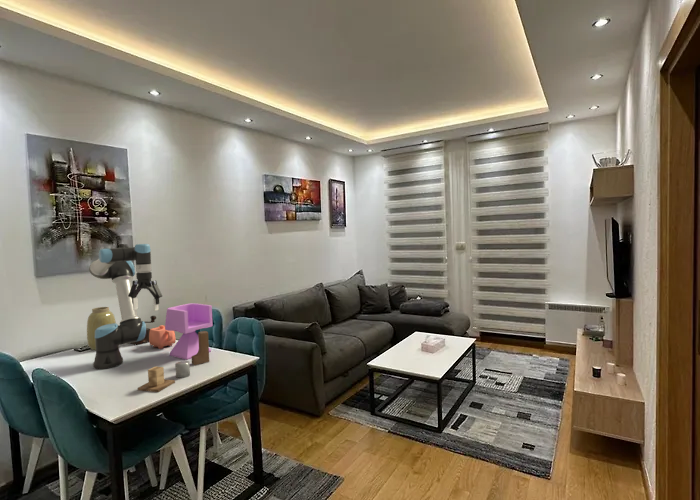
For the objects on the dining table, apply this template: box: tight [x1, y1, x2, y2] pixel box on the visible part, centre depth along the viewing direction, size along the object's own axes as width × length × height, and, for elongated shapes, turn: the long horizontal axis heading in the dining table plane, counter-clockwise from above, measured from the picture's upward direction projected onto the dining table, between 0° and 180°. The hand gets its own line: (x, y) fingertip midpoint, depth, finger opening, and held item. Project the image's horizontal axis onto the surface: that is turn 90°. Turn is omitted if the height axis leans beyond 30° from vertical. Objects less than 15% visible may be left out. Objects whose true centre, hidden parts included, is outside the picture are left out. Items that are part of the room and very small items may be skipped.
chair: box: [164, 302, 214, 361], centre depth 249 cm, size 20×20×30 cm
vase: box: [86, 306, 117, 351], centre depth 267 cm, size 17×17×27 cm
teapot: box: [148, 324, 177, 350], centre depth 268 cm, size 22×13×14 cm, turn 56°
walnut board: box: [137, 378, 176, 393], centre depth 199 cm, size 12×12×1 cm
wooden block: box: [191, 330, 210, 366], centre depth 232 cm, size 9×4×18 cm, turn 130°
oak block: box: [147, 366, 165, 386], centre depth 198 cm, size 5×5×8 cm
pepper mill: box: [130, 315, 157, 346], centre depth 279 cm, size 16×11×18 cm
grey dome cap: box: [174, 360, 191, 379], centre depth 212 cm, size 7×7×7 cm
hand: (146, 309), depth 219 cm, fingers open, 13 cm apart
